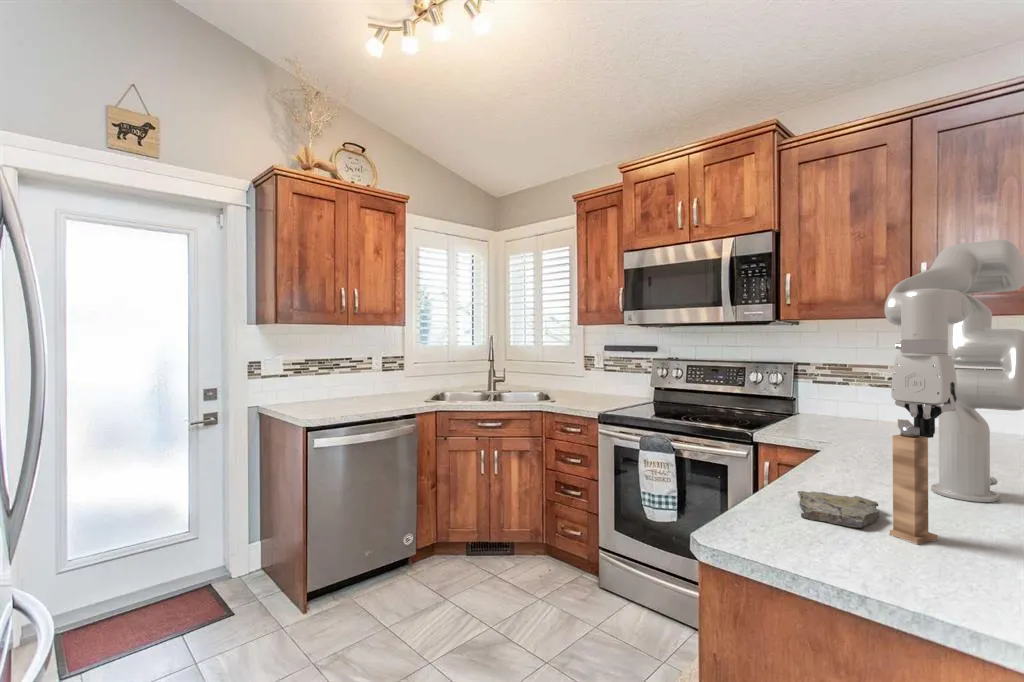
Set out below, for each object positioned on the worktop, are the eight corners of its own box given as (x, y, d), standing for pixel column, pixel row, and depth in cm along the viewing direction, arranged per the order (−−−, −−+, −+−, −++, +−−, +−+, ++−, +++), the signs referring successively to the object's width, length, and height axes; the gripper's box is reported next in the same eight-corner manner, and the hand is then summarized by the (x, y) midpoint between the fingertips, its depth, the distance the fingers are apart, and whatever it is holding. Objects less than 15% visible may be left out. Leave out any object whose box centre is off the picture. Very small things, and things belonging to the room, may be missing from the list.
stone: (881, 536, 101) (881, 518, 101) (794, 520, 109) (794, 504, 109) (876, 511, 116) (876, 496, 116) (800, 499, 124) (800, 485, 124)
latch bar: (920, 437, 97) (920, 428, 97) (901, 436, 99) (901, 427, 99) (911, 427, 108) (911, 419, 108) (894, 426, 110) (894, 418, 110)
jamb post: (909, 531, 102) (909, 433, 102) (937, 540, 98) (937, 438, 98) (889, 535, 100) (889, 435, 100) (917, 544, 96) (916, 440, 96)
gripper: (874, 348, 109) (874, 432, 109) (954, 349, 95) (955, 445, 95) (897, 348, 112) (898, 430, 112) (979, 349, 98) (979, 442, 98)
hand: (924, 436), depth 103 cm, fingers closed
